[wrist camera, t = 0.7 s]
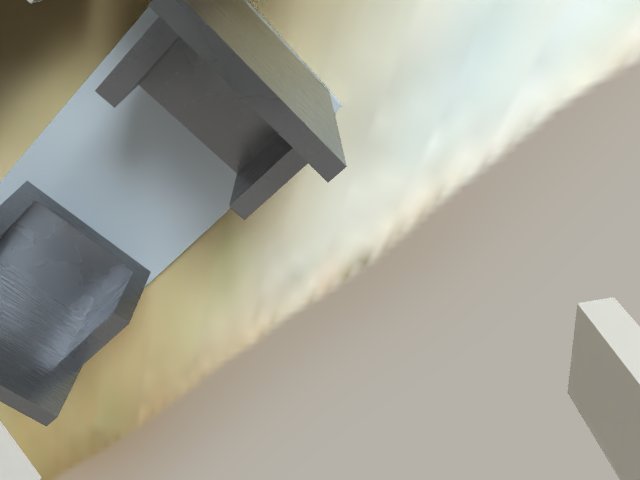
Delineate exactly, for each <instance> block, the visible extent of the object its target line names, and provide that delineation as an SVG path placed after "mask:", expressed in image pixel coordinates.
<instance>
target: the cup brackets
mask: <svg viewBox="0 0 640 480" xmlns="http://www.w3.org/2000/svg"><path fill="white" fill-rule="evenodd" d="M148 6H149V7H150V8H151V9H152V10H153V11H154V12H155V13H156V14H157V15H158V16H159V17H158V18H157V19H156V20H155V21H154V23H153V24H152V25H151V26H150V27H149V28H148V30H147V31H146V32H145V33H144V34H143V35H142V37H141V38H140V39H139V40H138V41H137V42H136V43H135V45H134V46H133V47H132V48H131V49H130V50H129V52H128V53H127V54H126V55H125V56H124V57H123V59H122V60H121V61H120V62H119V63H118V64H117V66H116V67H115V68H114V69H113V70H112V71H111V72H110V74H109V75H108V76H107V77H106V78H105V79H104V81H103V82H102V83H101V84H100V85H99V86H98V88H97V89H96V90H95V92H97V93H98V94H99V95H100V96H101V97H102V98H103V99H105V100H106V101H107V102H108V103H109V104H110V105H112V106H113V107H114V108H115V107H116V106H117V105H118V104H119V103H120V102H121V101H123V100H124V99H125V98H126V97H127V96H128V95H129V94H130V93H131V92H132V91H133V90H134V89H135V88H136V87H137V86H138V85H139V86H140V87H142V88H143V89H144V90H145V91H146V92H147V93H148V94H149V95H150V96H151V97H153V98H154V99H155V100H156V101H157V102H158V103H159V104H160V105H161V106H163V107H164V108H165V109H166V110H167V111H168V112H169V113H170V114H171V115H173V116H174V117H175V118H176V119H177V120H178V121H179V122H180V123H181V124H183V125H184V126H185V127H186V128H187V129H188V130H189V131H190V132H191V133H192V134H194V135H195V136H196V137H197V138H198V139H199V140H200V141H201V142H202V143H204V144H205V145H206V146H207V147H208V148H209V149H210V150H211V151H212V152H214V153H215V154H216V155H217V156H218V157H219V158H220V159H221V160H222V161H223V162H225V163H226V164H227V165H228V166H229V167H230V168H231V169H232V170H233V171H235V172H236V173H237V175H236V179H235V183H234V188H233V192H232V196H231V200H230V204H229V207H230V208H231V209H232V210H233V211H235V212H236V213H237V214H238V215H239V216H240V217H242V218H243V219H244V220H245V219H246V218H247V217H248V216H250V215H251V214H252V213H253V212H254V211H255V210H256V209H257V208H258V207H260V206H261V205H262V204H263V203H264V202H265V201H266V200H267V199H268V198H270V197H271V196H272V195H273V194H274V193H275V192H276V191H277V190H279V189H280V188H281V187H282V186H283V185H284V184H285V183H286V182H287V181H289V180H290V179H291V178H292V177H293V176H294V175H295V174H296V173H297V172H299V171H300V170H301V169H302V168H303V167H304V166H305V165H306V164H308V163H309V164H310V165H311V166H312V167H313V168H314V169H315V170H316V171H317V172H318V173H319V174H320V175H321V176H322V177H323V178H324V179H325V180H326V181H327V182H329V181H330V180H332V179H333V178H334V177H335V176H336V175H337V174H338V173H340V172H341V171H342V170H343V169H344V168H345V167H347V166H346V162H345V157H344V153H343V149H342V144H341V140H340V136H339V131H338V127H337V122H336V118H335V114H334V109H333V105H332V100H331V96H330V92H328V90H327V89H326V88H324V87H323V85H322V84H321V83H320V82H319V81H318V80H317V79H316V78H315V77H314V76H313V75H312V74H311V72H310V71H309V70H308V69H307V68H305V66H304V65H303V64H302V63H301V62H300V61H299V60H298V59H297V58H296V57H295V56H294V55H293V53H292V52H291V51H290V50H289V49H288V48H287V47H286V46H285V45H284V44H283V43H282V42H281V40H280V39H279V38H278V37H277V36H276V35H275V34H274V33H273V32H272V31H271V30H270V28H269V27H268V26H267V25H266V24H265V23H264V22H263V21H262V20H261V19H260V18H259V17H258V15H257V14H256V13H255V12H254V11H253V10H252V9H251V8H250V7H249V6H248V5H247V4H246V2H245V1H244V0H152V1H151V2H150V3H149V4H148ZM150 273H151V272H150V271H149V270H148V269H146V268H145V267H144V266H142V265H141V264H140V263H138V262H137V261H136V260H134V259H133V258H132V257H130V256H129V255H127V254H126V253H125V252H123V251H122V250H121V249H119V248H118V247H117V246H115V245H114V244H113V243H111V242H110V241H109V240H107V239H106V238H104V237H103V236H102V235H100V234H99V233H98V232H96V231H95V230H94V229H92V228H91V227H90V226H88V225H87V224H86V223H84V222H83V221H81V220H80V219H79V218H77V217H76V216H75V215H73V214H72V213H71V212H69V211H68V210H67V209H65V208H64V207H63V206H61V205H60V204H58V203H57V202H56V201H54V200H53V199H52V198H50V197H49V196H48V195H46V194H45V193H44V192H42V191H41V190H39V189H38V188H37V187H35V186H34V185H33V184H31V183H30V182H29V181H26V182H25V183H24V184H23V185H22V186H21V187H20V188H18V189H17V190H16V191H15V192H14V193H13V194H12V195H11V196H10V197H9V198H8V199H6V200H5V201H4V202H3V203H2V204H1V205H0V401H1V402H3V403H4V404H6V405H8V406H10V407H12V408H14V409H15V410H17V411H19V412H21V413H23V414H25V415H27V416H28V417H30V418H32V419H34V420H36V421H38V422H39V423H41V424H43V425H45V426H47V425H48V424H50V423H51V422H52V421H53V420H54V419H55V418H57V417H58V415H59V413H60V410H61V408H62V406H63V404H64V402H65V400H66V398H67V396H68V394H69V392H70V390H71V388H72V386H73V384H74V382H75V380H76V378H77V376H78V374H79V372H80V370H81V368H82V366H83V364H84V363H85V362H87V361H88V360H89V359H90V358H91V357H92V356H93V355H94V354H95V353H97V352H98V351H99V350H100V349H101V348H102V347H103V346H104V345H106V344H107V343H108V342H109V341H110V340H111V339H112V338H113V337H114V336H116V335H117V334H118V333H119V332H120V331H121V330H122V329H123V328H125V327H126V326H127V325H128V324H129V322H130V320H131V317H132V315H133V313H134V310H135V308H136V306H137V303H138V301H139V299H140V296H141V294H142V292H143V289H144V287H145V285H146V282H147V280H148V278H149V275H150Z"/></svg>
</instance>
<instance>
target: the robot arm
mask: <svg viewBox="0 0 640 480" xmlns="http://www.w3.org/2000/svg"><path fill="white" fill-rule="evenodd" d="M568 394H569V395H570V397H571V399H572V401H573V402H574V404H575V406H576V407H577V409H578V410H579V412H580V414H581V415H582V417H583V419H584V421H585V422H586V424H587V426H588V427H589V429H590V431H591V432H592V434H593V436H594V437H595V439H596V441H597V442H598V444H599V446H600V447H601V449H602V451H603V452H604V454H605V456H606V457H607V459H608V461H609V462H610V464H611V466H612V467H613V469H614V470H615V472H616V474H617V475H618V477H619V479H620V480H640V327H639V326H638V325H637V323H636V322H635V321H634V320H633V319H632V318H631V316H630V315H629V314H628V313H627V312H626V311H625V310H624V309H623V307H622V306H621V305H620V304H619V303H618V302H617V301H616V299H615V298H614V297H613V298H607V299H601V300H595V301H589V302H583V303H578V304H577V313H576V322H575V330H574V340H573V349H572V358H571V367H570V376H569V385H568ZM40 479H41V476H40V475H39V473H38V472H37V471H36V469H35V468H34V466H33V465H32V464H31V462H30V461H29V460H28V458H27V457H26V456H25V454H24V453H23V451H22V450H21V449H20V447H19V446H18V445H17V443H16V442H15V440H14V439H13V438H12V436H11V435H10V434H9V432H8V431H7V430H6V428H5V427H4V425H3V424H2V423H1V421H0V480H40Z"/></svg>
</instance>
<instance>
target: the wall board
mask: <svg viewBox="0 0 640 480" xmlns="http://www.w3.org/2000/svg"><path fill="white" fill-rule="evenodd" d="M244 1H245V2H246V4H247V5H248V6H249V7H250V8H251V9H252V10H253V11H254V12H255V13H256V14H257V15H258V17H259V18H260V19H261V20H262V21H263V22H264V23H265V24H266V25H267V26H268V27H269V28H270V30H271V31H272V32H273V33H274V34H275V35H276V36H277V37H278V38H279V39H280V40H281V42H282V43H283V44H284V45H285V46H286V47H287V48H288V49H289V50H290V51H291V52H292V53H293V55H294V56H295V57H296V58H297V59H298V60H299V61H300V62H301V63H302V64H303V65H304V66H305V68H307V69H308V70H309V71H310V72H311V74H312V75H313V76H314V77H315V78H316V79H317V80H318V81H319V82H320V83H321V84H322V85H323V87H324V88H326V89H327V90H328V92H330V96H331V100H332V105H333V109H334V113H335V112H336V111H337V110H338V109H340V108H341V107H342V106H341V103H340V101H339V100H338V99H337V98H336V97H335V96H334V95H333V94H332V92H331V91H330V90H329V89H328V88H327V87H326V86H325V85H324V84H323V83H322V82H321V81H320V79H319V78H318V77H317V76H316V75H315V74H314V73H313V72H312V71H311V70H310V69H309V67H308V66H307V65H306V64H305V63H304V62H303V61H302V60H301V59H300V58H299V57H298V55H297V54H296V53H295V52H294V51H293V50H292V49H291V48H290V47H289V46H288V45H287V43H286V42H285V41H284V40H283V39H282V38H281V37H280V36H279V35H278V34H277V33H276V32H275V30H274V29H273V28H272V27H271V26H270V25H269V24H268V23H267V22H266V21H265V20H264V18H263V17H262V16H261V15H260V14H259V13H258V12H257V11H256V10H255V9H254V8H253V6H252V5H251V4H250V3H249V2H248V1H247V0H244ZM158 17H159V16H158V15H157V14H156V13H155V12H154V11H153V10H152V9H151V8H150V7H148V8H147V9H146V10H145V12H144V13H143V14H142V15H141V16H140V17H139V19H138V20H137V21H136V22H135V23H134V24H133V26H132V27H131V28H130V29H129V30H128V32H127V33H126V34H125V35H124V36H123V37H122V39H121V40H120V41H119V42H118V43H117V45H116V46H115V47H114V48H113V49H112V50H111V52H110V53H109V54H108V55H107V56H106V58H105V59H104V60H103V61H102V62H101V63H100V65H99V66H98V67H97V68H96V69H95V71H94V72H93V73H92V74H91V75H90V76H89V78H88V79H87V80H86V81H85V82H84V84H83V85H82V86H81V87H80V88H79V89H78V91H77V92H76V93H75V94H74V95H73V97H72V98H71V99H70V100H69V101H68V102H67V104H66V105H65V106H64V107H63V108H62V109H61V111H60V112H59V113H58V114H57V115H56V117H55V118H54V119H53V120H52V121H51V122H50V124H49V125H48V126H47V127H46V128H45V130H44V131H43V132H42V133H41V134H40V135H39V137H38V138H37V139H36V140H35V141H34V143H33V144H32V145H31V146H30V147H29V148H28V150H27V151H26V152H25V153H24V154H23V156H22V157H21V158H20V159H19V160H18V161H17V163H16V164H15V165H14V166H13V167H12V169H11V170H10V171H9V172H8V173H7V174H6V176H5V177H4V178H3V179H2V180H1V182H0V205H1V204H2V203H3V202H4V201H5V200H6V199H8V198H9V197H10V196H11V195H12V194H13V193H14V192H15V191H16V190H17V189H18V188H20V187H21V186H22V185H23V184H24V183H25V182H26V181H29V182H30V183H31V184H33V185H34V186H35V187H37V188H38V189H39V190H41V191H42V192H44V193H45V194H46V195H48V196H49V197H50V198H52V199H53V200H54V201H56V202H57V203H58V204H60V205H61V206H63V207H64V208H65V209H67V210H68V211H69V212H71V213H72V214H73V215H75V216H76V217H77V218H79V219H80V220H81V221H83V222H84V223H86V224H87V225H88V226H90V227H91V228H92V229H94V230H95V231H96V232H98V233H99V234H100V235H102V236H103V237H104V238H106V239H107V240H109V241H110V242H111V243H113V244H114V245H115V246H117V247H118V248H119V249H121V250H122V251H123V252H125V253H126V254H127V255H129V256H130V257H132V258H133V259H134V260H136V261H137V262H138V263H140V264H141V265H142V266H144V267H145V268H146V269H148V270H149V271H150V272H151V273H150V275H149V278H148V280H147V282H146V285H145V286H147V285H148V284H149V283H150V282H151V281H152V280H153V279H154V278H155V277H156V276H157V275H159V274H160V273H161V272H162V271H163V270H164V269H165V268H166V267H167V266H168V265H169V264H171V263H172V262H173V261H174V260H175V259H176V258H177V257H178V256H179V255H180V254H181V253H183V252H184V251H185V250H186V249H187V248H188V247H189V246H190V245H191V244H192V243H193V242H195V241H196V240H197V239H198V238H199V237H200V236H201V235H202V234H203V233H204V232H205V231H207V230H208V229H209V228H210V227H211V226H212V225H213V224H214V223H215V222H216V221H217V220H219V219H220V218H221V217H222V216H223V215H224V214H225V213H226V212H227V211H228V210H229V209H231V208H230V207H229V204H230V200H231V196H232V192H233V188H234V183H235V179H236V175H237V173H236V172H235V171H233V170H232V169H231V168H230V167H229V166H228V165H227V164H226V163H225V162H223V161H222V160H221V159H220V158H219V157H218V156H217V155H216V154H215V153H214V152H212V151H211V150H210V149H209V148H208V147H207V146H206V145H205V144H204V143H202V142H201V141H200V140H199V139H198V138H197V137H196V136H195V135H194V134H192V133H191V132H190V131H189V130H188V129H187V128H186V127H185V126H184V125H183V124H181V123H180V122H179V121H178V120H177V119H176V118H175V117H174V116H173V115H171V114H170V113H169V112H168V111H167V110H166V109H165V108H164V107H163V106H161V105H160V104H159V103H158V102H157V101H156V100H155V99H154V98H153V97H151V96H150V95H149V94H148V93H147V92H146V91H145V90H144V89H143V88H142V87H140V86H139V85H138V86H137V87H136V88H135V89H134V90H133V91H132V92H131V93H130V94H129V95H128V96H127V97H126V98H125V99H124V100H123V101H121V102H120V103H119V104H118V105H117V106H116V107H115V108H114V107H113V106H112V105H110V104H109V103H108V102H107V101H106V100H105V99H103V98H102V97H101V96H100V95H99V94H98V93H97V92H95V90H96V89H97V88H98V86H99V85H100V84H101V83H102V82H103V81H104V79H105V78H106V77H107V76H108V75H109V74H110V72H111V71H112V70H113V69H114V68H115V67H116V66H117V64H118V63H119V62H120V61H121V60H122V59H123V57H124V56H125V55H126V54H127V53H128V52H129V50H130V49H131V48H132V47H133V46H134V45H135V43H136V42H137V41H138V40H139V39H140V38H141V37H142V35H143V34H144V33H145V32H146V31H147V30H148V28H149V27H150V26H151V25H152V24H153V23H154V21H155V20H156V19H157V18H158Z"/></svg>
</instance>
